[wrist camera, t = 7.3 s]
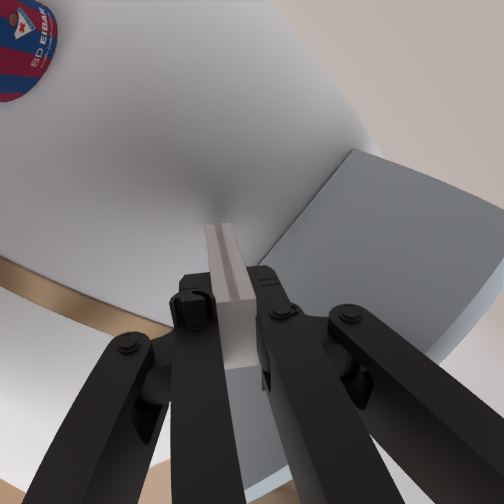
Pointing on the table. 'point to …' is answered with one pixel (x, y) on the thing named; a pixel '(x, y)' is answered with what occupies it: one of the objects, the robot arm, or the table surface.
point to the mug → (24, 45)
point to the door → (375, 279)
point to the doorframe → (102, 329)
